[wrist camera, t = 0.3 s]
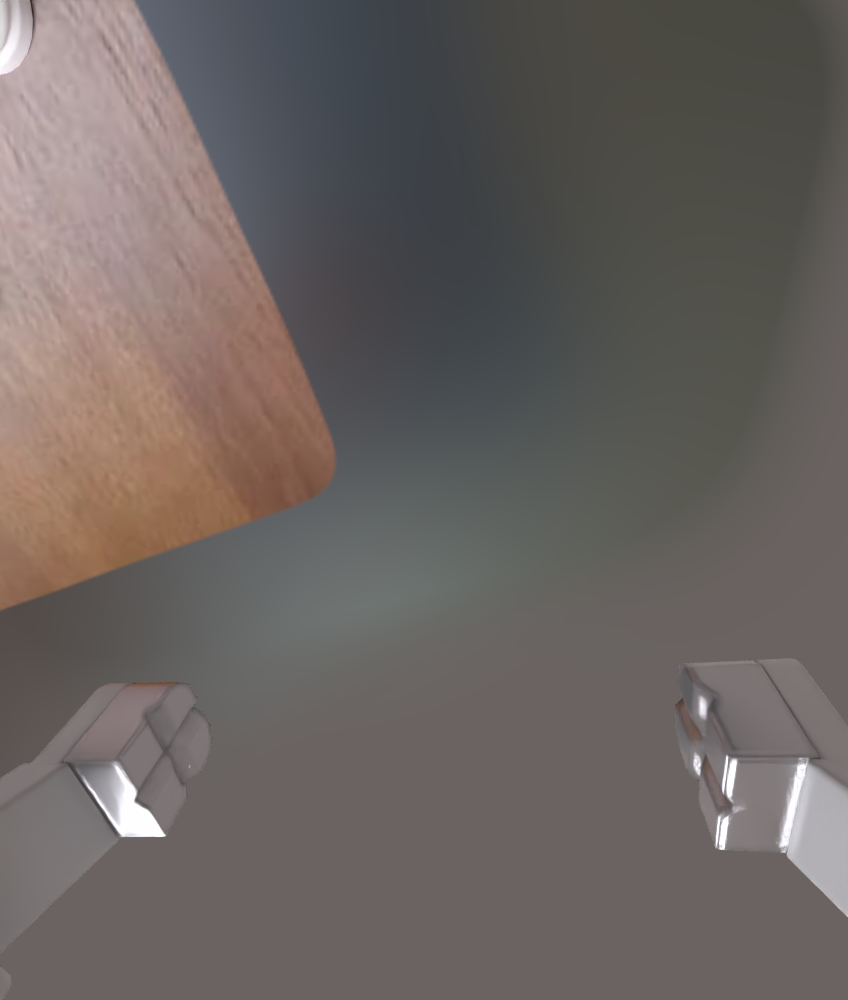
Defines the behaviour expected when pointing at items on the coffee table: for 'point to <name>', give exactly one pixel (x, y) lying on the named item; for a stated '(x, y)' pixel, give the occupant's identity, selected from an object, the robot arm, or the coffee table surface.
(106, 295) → the coffee table surface
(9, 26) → the chess pawn
